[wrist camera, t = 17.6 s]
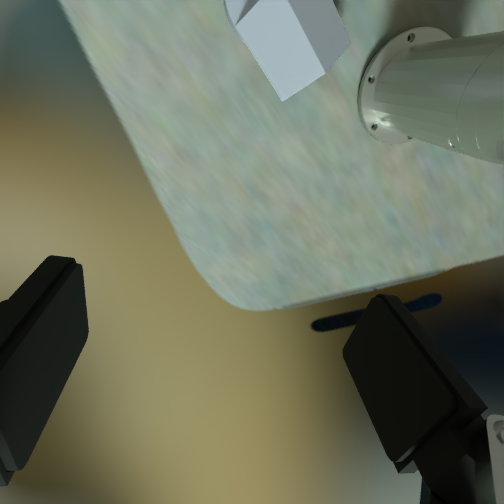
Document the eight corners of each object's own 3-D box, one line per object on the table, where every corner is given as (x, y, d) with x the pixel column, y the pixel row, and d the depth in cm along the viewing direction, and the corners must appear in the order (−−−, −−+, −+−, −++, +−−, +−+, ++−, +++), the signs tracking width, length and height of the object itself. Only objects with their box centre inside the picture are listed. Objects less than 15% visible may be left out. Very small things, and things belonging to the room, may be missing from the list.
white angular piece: (339, 45, 33) (276, -91, 27) (365, 39, 27) (292, -135, 21) (277, 99, 35) (205, -14, 29) (288, 104, 29) (202, -35, 23)
